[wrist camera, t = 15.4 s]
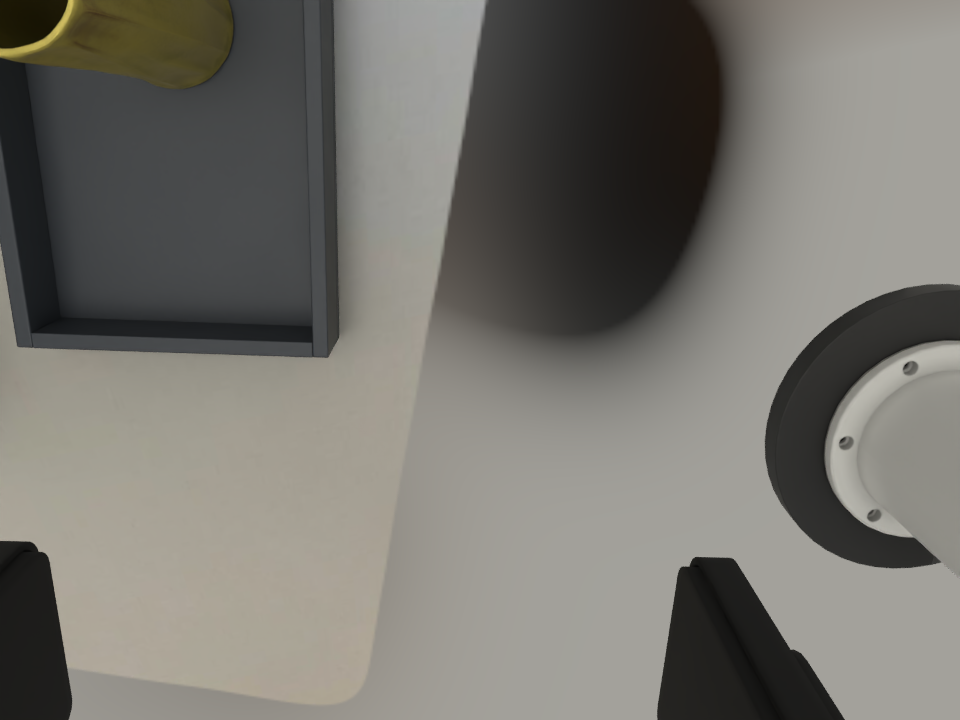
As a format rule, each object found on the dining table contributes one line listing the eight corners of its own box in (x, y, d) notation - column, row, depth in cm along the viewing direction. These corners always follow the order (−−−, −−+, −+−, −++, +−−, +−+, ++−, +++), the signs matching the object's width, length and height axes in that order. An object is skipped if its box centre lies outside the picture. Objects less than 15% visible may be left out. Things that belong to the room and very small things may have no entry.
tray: (331, -107, 34) (317, -131, 31) (339, 337, 41) (328, 358, 37) (-13, -127, 33) (-66, -154, 30) (54, 327, 40) (16, 347, 37)
